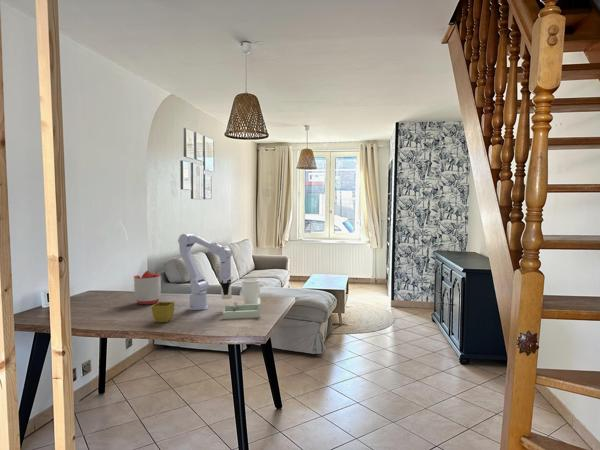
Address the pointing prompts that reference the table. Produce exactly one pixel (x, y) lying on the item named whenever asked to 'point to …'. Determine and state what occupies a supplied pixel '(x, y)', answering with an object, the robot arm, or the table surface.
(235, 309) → the plate
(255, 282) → the jar
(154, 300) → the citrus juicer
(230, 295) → the spice jar
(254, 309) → the lane
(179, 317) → the table surface
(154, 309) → the flower pot
